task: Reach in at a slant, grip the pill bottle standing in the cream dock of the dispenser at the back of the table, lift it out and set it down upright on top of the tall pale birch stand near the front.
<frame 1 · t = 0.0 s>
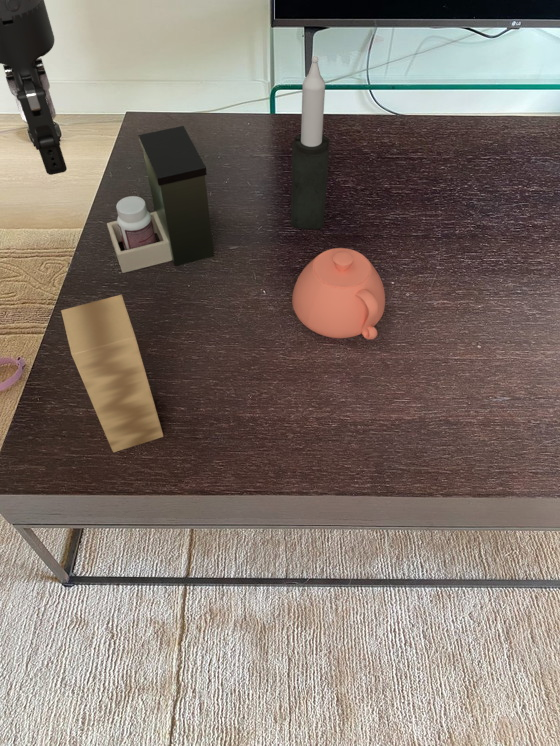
hand: (51, 151, 71), 21 cm above the table, tool pointing down, fingers open, 8 cm apart
dock: (141, 250, 92), on the table
candle: (307, 219, 97), on the table
sugar bowl: (340, 319, 84), on the table
pill bottle: (141, 251, 92), resting in dock
dispenser: (185, 240, 94), on the table
stand: (97, 323, 59), on the table
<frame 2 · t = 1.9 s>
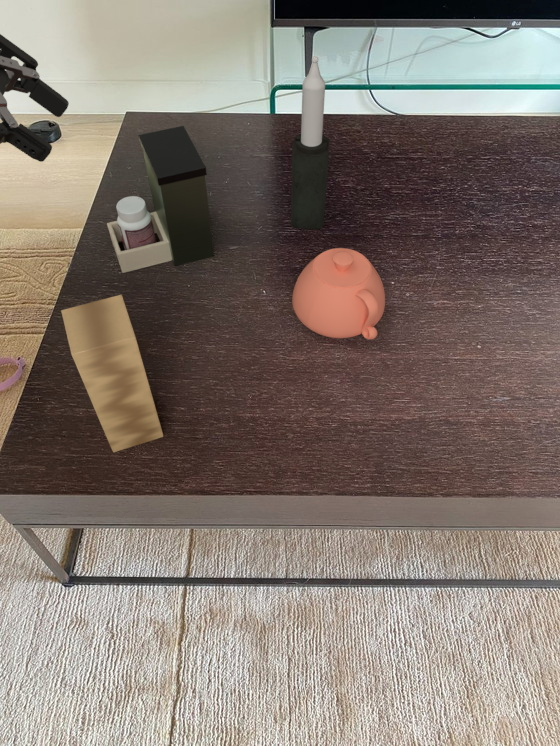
hand: (56, 131, 67), 25 cm above the table, tool tilted 45°, fingers open, 8 cm apart
nothing on the table moved.
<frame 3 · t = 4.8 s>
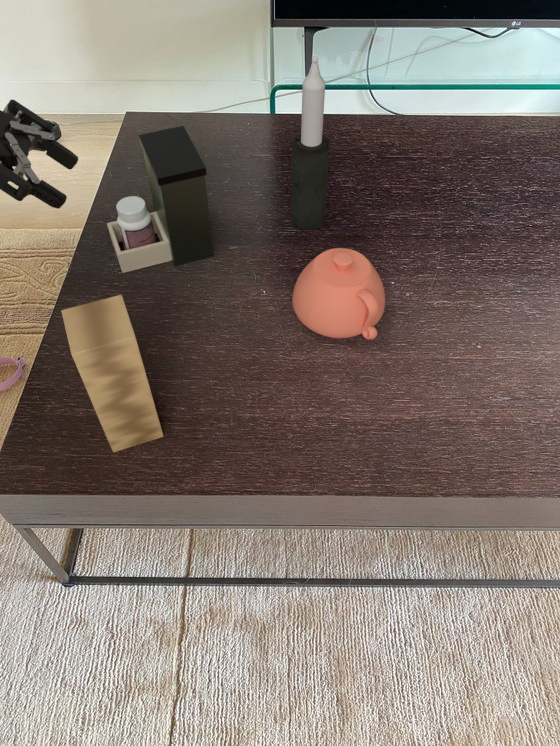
hand: (69, 183, 83), 12 cm above the table, tool tilted 45°, fingers open, 8 cm apart
nothing on the table moved.
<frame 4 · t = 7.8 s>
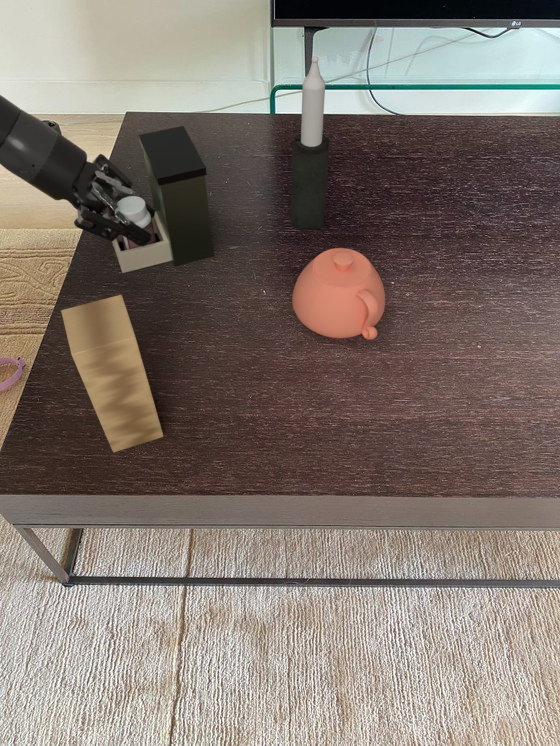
hand: (149, 228, 89), 4 cm above the table, tool tilted 45°, fingers closed on pill bottle, 4 cm apart
pill bottle: (141, 251, 92), resting in dock, touching gripper
everything else where it was.
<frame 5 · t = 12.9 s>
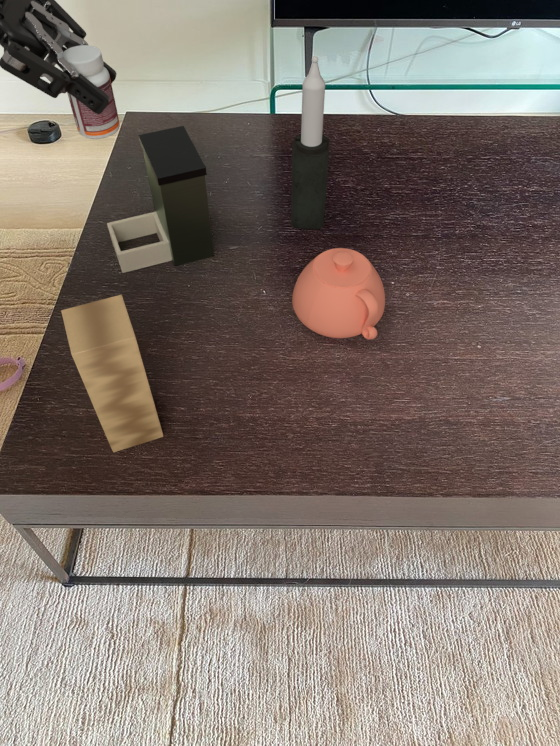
hand: (108, 93, 67), 27 cm above the table, tool tilted 45°, fingers closed on pill bottle, 4 cm apart
pill bottle: (99, 130, 70), point 23 cm above the table, touching gripper
everything else where it was.
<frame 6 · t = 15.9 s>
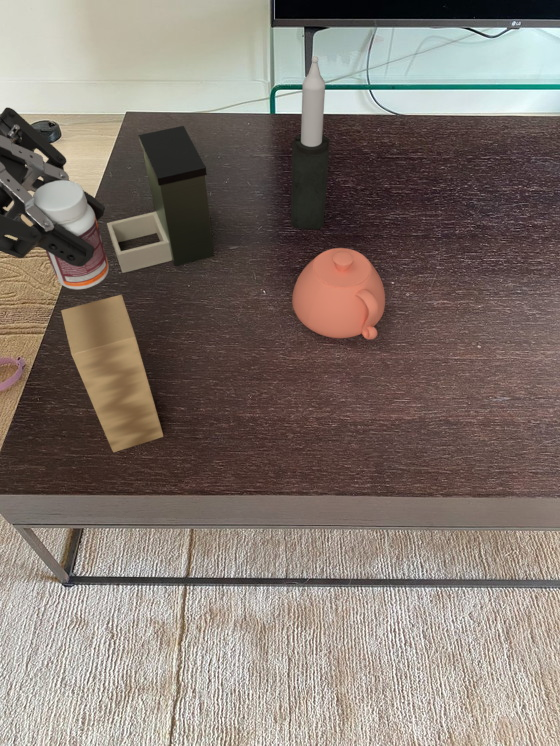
hand: (93, 236, 53), 27 cm above the table, tool tilted 45°, fingers closed on pill bottle, 4 cm apart
pill bottle: (83, 274, 56), point 23 cm above the table, touching gripper
everything else where it was.
when the fingers open (22 cm above the table, at t = 18.2 s): pill bottle stays where it is, resting on stand.
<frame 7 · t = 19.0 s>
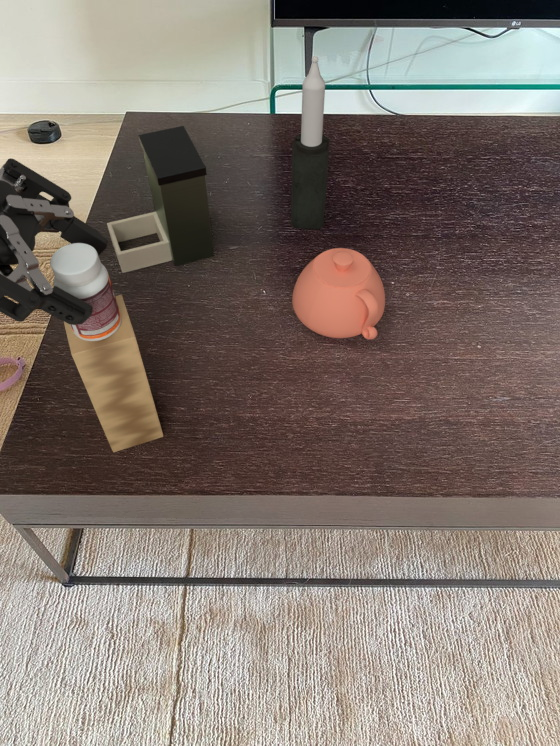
hand: (95, 281, 55), 23 cm above the table, tool tilted 45°, fingers open, 8 cm apart
pill bottle: (97, 325, 60), point 18 cm above the table, touching stand
everything else where it was.
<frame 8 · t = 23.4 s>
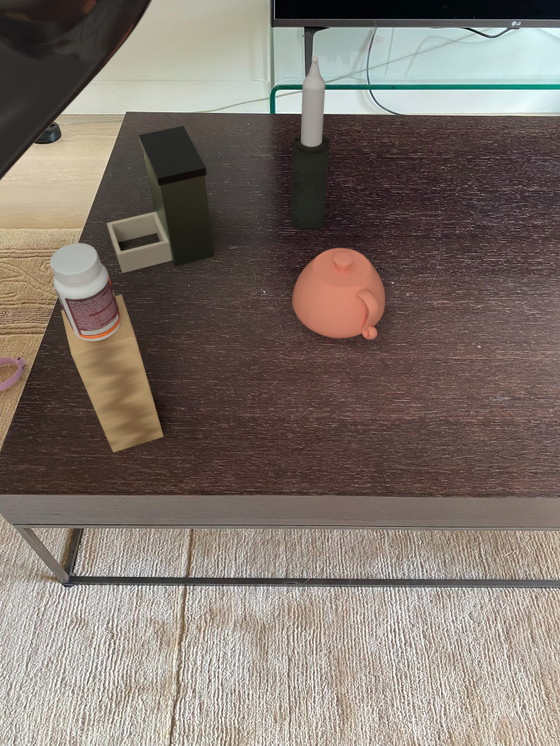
nothing on the table moved.
at the end: pill bottle 0.1 cm off-centre on the stand, point 0.0 cm above the stand's base; pill bottle tilted 0°; pill bottle 0.1 cm from the stand (horizontally) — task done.
